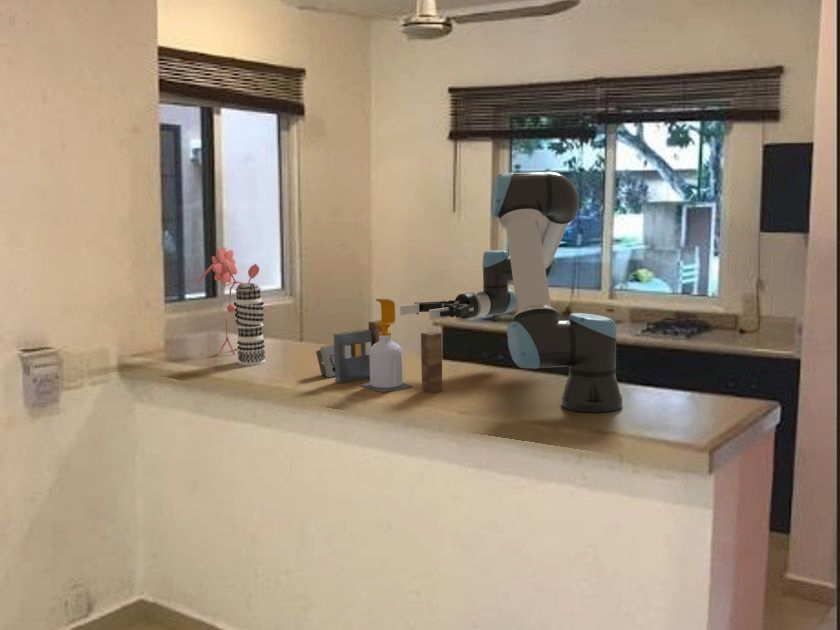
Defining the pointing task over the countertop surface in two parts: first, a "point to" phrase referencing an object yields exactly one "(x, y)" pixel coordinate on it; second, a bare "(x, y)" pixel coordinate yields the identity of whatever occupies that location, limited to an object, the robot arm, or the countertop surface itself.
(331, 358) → the electrical switch
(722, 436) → the countertop surface
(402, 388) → the pad
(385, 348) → the soap bottle
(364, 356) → the breaker panel
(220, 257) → the figurine
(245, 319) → the decorative candle
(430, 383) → the gate
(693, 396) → the countertop surface
